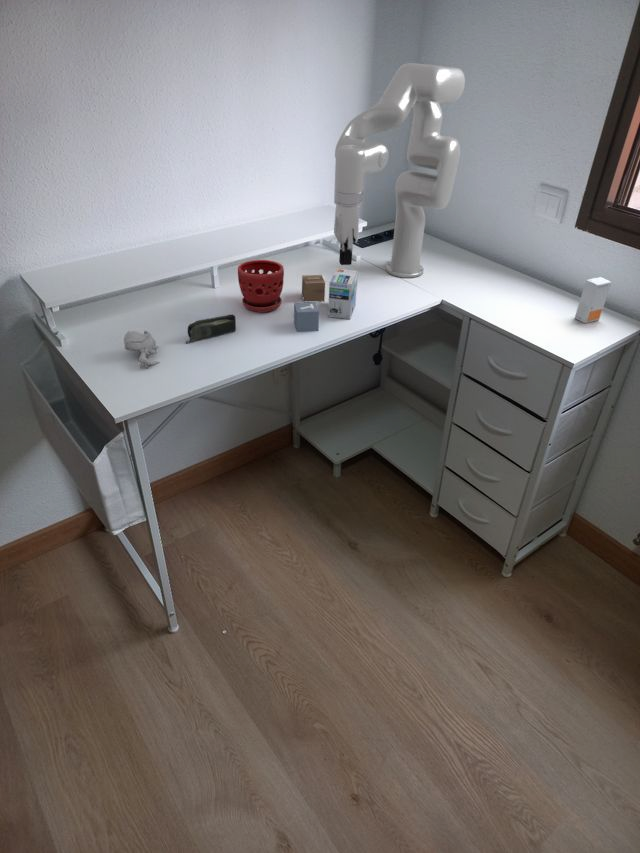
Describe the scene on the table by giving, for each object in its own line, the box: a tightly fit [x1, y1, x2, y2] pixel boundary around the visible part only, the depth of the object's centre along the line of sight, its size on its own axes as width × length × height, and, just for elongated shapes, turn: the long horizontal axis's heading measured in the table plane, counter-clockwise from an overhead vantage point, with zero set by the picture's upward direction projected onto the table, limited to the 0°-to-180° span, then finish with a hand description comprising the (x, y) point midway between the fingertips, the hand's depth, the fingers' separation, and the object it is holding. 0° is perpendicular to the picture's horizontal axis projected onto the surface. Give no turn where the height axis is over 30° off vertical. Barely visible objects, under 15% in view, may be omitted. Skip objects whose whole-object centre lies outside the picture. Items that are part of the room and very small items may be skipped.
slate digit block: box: [293, 301, 320, 333], centre depth 172 cm, size 6×6×6 cm
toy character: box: [123, 330, 161, 369], centre depth 156 cm, size 6×9×12 cm
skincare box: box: [574, 276, 613, 324], centre depth 180 cm, size 6×4×12 cm
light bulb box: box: [327, 268, 359, 320], centre depth 180 cm, size 11×7×11 cm, turn 168°
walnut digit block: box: [301, 274, 326, 302], centre depth 188 cm, size 6×6×6 cm
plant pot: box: [237, 259, 285, 313], centre depth 181 cm, size 13×13×12 cm
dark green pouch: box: [185, 313, 237, 344], centre depth 166 cm, size 5×3×15 cm
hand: (345, 263), depth 175 cm, fingers closed
